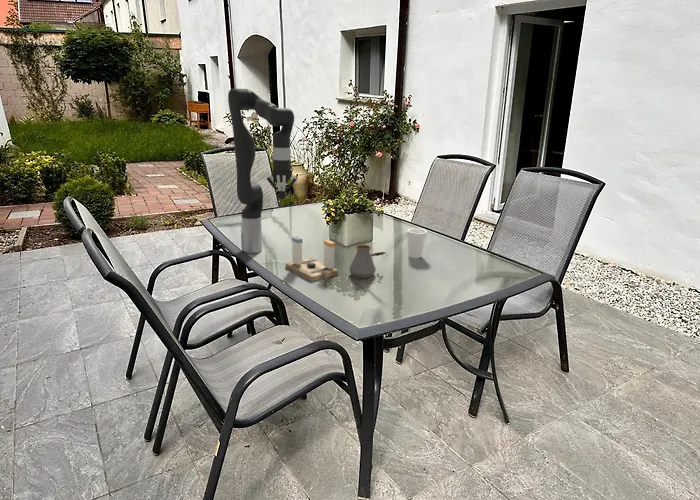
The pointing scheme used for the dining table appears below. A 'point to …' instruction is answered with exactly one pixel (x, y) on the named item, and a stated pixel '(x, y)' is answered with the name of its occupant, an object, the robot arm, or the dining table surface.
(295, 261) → the grey topped white block
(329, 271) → the light wood flat block
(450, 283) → the dining table surface
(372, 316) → the dining table surface
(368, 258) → the coffee pot
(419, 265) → the dining table surface
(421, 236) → the foam cup
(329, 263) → the orange topped white block
